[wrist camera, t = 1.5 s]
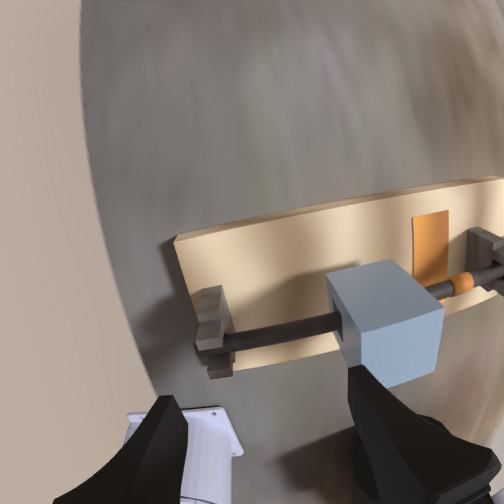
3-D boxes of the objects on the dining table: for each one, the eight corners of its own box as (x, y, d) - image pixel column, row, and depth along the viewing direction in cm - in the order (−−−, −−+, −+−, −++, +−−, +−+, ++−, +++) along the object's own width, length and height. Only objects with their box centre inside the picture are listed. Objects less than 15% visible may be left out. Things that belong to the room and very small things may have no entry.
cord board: (218, 360, 22) (213, 426, 16) (178, 234, 19) (149, 278, 13) (487, 287, 21) (532, 323, 15) (493, 175, 18) (552, 192, 12)
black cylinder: (357, 494, 41) (341, 538, 33) (364, 411, 26) (339, 501, 19) (407, 497, 37) (395, 543, 29) (458, 413, 22) (450, 505, 14)
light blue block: (331, 329, 18) (360, 396, 12) (325, 273, 17) (361, 333, 11) (390, 313, 18) (434, 370, 12) (390, 258, 16) (444, 307, 11)
